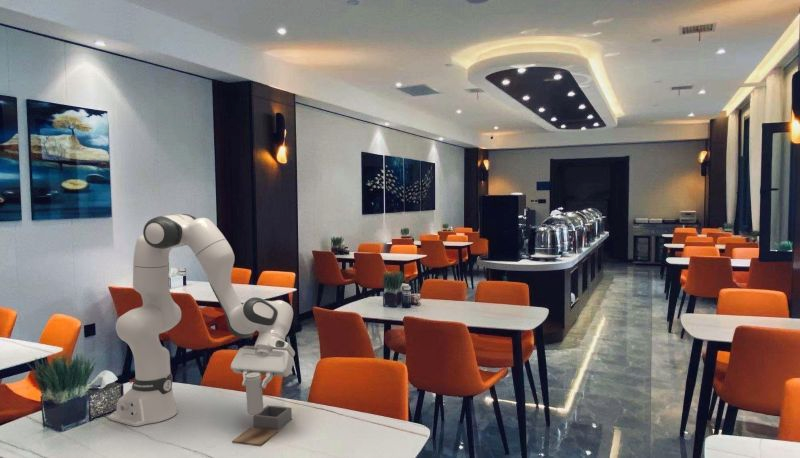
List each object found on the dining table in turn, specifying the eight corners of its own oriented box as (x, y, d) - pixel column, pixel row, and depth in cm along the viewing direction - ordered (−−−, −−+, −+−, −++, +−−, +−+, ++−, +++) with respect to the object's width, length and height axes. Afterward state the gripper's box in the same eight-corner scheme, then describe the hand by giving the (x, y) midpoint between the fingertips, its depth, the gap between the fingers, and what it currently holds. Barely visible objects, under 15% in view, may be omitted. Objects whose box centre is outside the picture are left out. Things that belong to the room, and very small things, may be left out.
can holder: (253, 427, 174) (253, 415, 173) (268, 416, 182) (267, 405, 182) (278, 430, 171) (277, 418, 171) (291, 419, 180) (291, 407, 179)
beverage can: (259, 415, 164) (257, 377, 163) (244, 415, 164) (242, 377, 163) (266, 409, 168) (263, 372, 167) (251, 408, 169) (249, 371, 168)
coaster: (232, 442, 163) (232, 440, 163) (250, 428, 173) (250, 427, 173) (260, 446, 160) (260, 444, 160) (278, 432, 170) (277, 430, 170)
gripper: (236, 340, 175) (220, 379, 166) (292, 343, 169) (278, 384, 160) (245, 350, 180) (229, 388, 171) (299, 353, 174) (286, 393, 165)
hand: (253, 386), depth 166 cm, fingers closed on beverage can, 5 cm apart
